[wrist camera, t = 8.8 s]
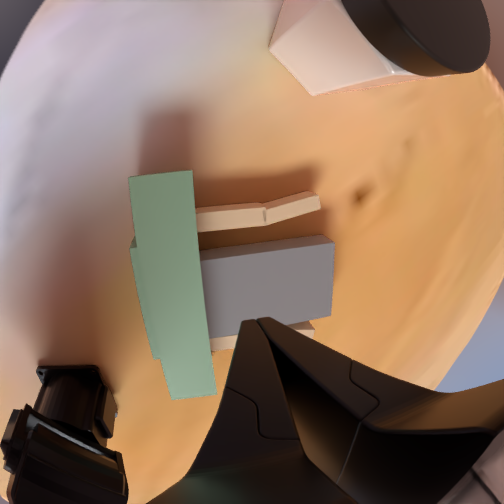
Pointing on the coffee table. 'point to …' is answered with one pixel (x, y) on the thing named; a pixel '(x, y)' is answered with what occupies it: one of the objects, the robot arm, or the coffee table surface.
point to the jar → (378, 41)
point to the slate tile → (267, 282)
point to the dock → (188, 271)
